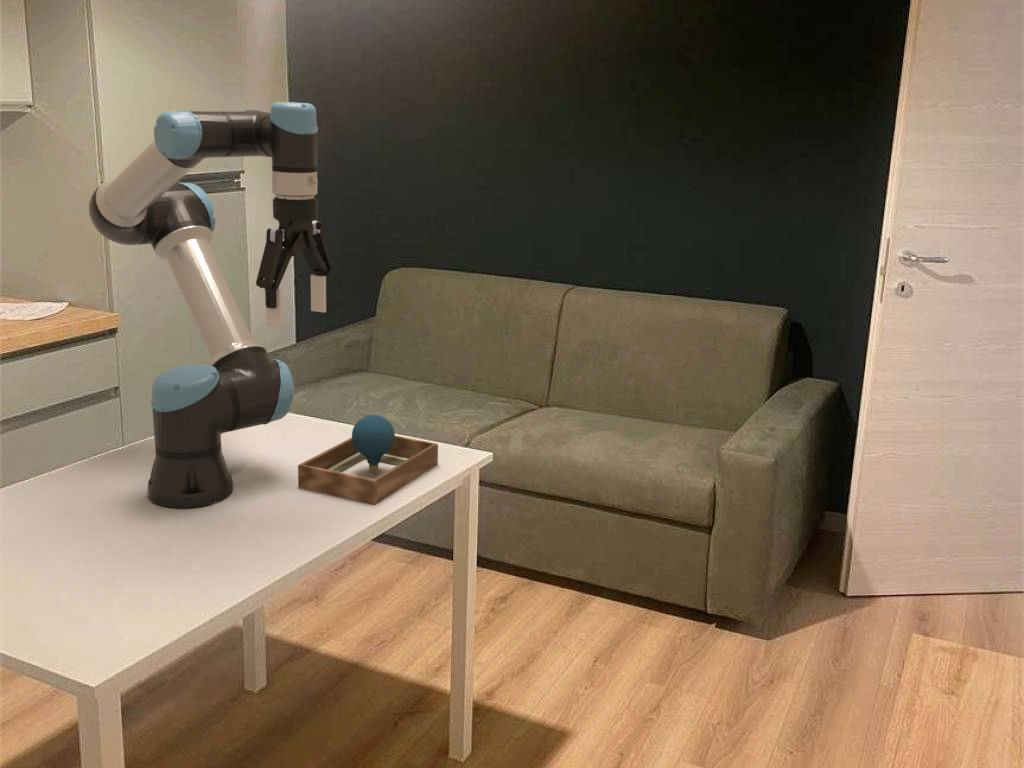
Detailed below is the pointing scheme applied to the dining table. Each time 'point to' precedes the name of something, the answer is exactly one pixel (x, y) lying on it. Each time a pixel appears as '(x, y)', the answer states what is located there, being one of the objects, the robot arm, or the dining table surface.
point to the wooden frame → (330, 479)
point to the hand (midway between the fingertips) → (297, 318)
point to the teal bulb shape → (373, 439)
